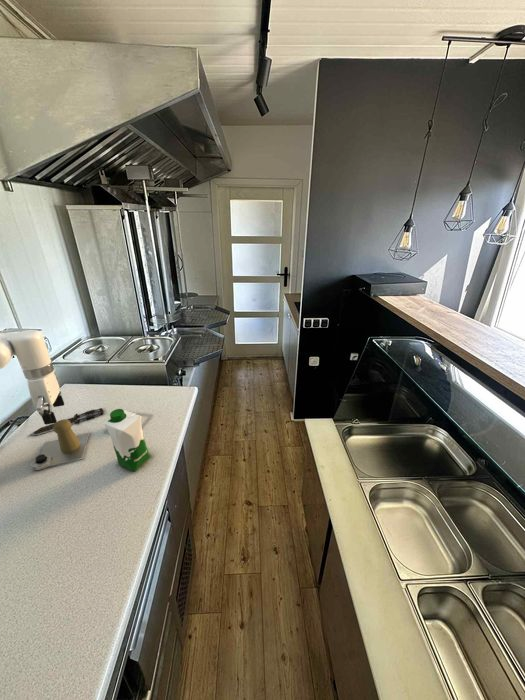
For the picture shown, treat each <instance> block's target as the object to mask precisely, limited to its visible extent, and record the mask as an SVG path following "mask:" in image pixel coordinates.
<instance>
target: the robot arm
mask: <svg viewBox="0 0 525 700" xmlns="http://www.w3.org/2000/svg"><path fill="white" fill-rule="evenodd" d="M13 356H16V359H17V361H18V363H19V365H20V368H21V371H22V373H23V375H24V378H25V380H26V382H27V388H28V391H29V395H30V399H31V401H32V404H33V407H34V408H35V409H36V411H37V412H38V414H39V416H41V419H42V421H43V423H44V425H45V426H48V425H51V424H54V423H56V422H58V420H57V418H56V415H55V412H54V411H53V410H52V409H53V408H57V407H58V408H59V407H64V406H65V401H64V398H63V396H62V392H61V388H60V384H59V382H58V379H57V376H56V374H55V371H56V370H55V367H54V364H53V361H52V359H51V355H50V353H49V349H48V347H47V344H46V341H45V338H44V336H43V333H42V332H40V331H39V330H36V329H26V330H20V331H17V332H0V370H1V369H3V368H5V367H6V366H7V365H8V364H9V362H10V361H11V359H12V357H13ZM52 406H53V407H52ZM46 407H47V409H45V408H46Z"/></svg>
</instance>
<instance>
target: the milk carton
mask: <svg viewBox="0 0 525 700" xmlns="http://www.w3.org/2000/svg"><path fill="white" fill-rule="evenodd" d="M109 418H110V419H109V420H107V421H106V422H104V427H105V428H106V431H107V432H108V435H109V436H110V440H111V443H112V446H113V449H114V452H115V455H116V460H117V462H118V465H119V466H121V467H123V468H125V469H128V470H129V471H131V472H137V470H139V468H141V467H142V466H143V465H144V464H145V463H146V462H147V461H149V459H150V458H151V455H150V453H149V449H148V447H147V444H146V440H145V435H144V431H143V427H142V415H139V414H137V413H135V412H133V411H129V410H127V409H126V410H125V409H122V408H116V409H114V410H112V411H111V412H110V413H109Z"/></svg>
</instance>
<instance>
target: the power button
mask: <svg viewBox="0 0 525 700" xmlns="http://www.w3.org/2000/svg"><path fill="white" fill-rule="evenodd" d="M34 459H35V460H36V462H37V463H38V464H39V463H42V462H44V461H45V460H46V457H45V455H44V454H41V453H40V454H39V455H37V456H36V457H35V458H34Z"/></svg>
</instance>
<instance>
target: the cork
mask: <svg viewBox="0 0 525 700" xmlns="http://www.w3.org/2000/svg"><path fill="white" fill-rule="evenodd" d="M67 419H68V418H66V419H60V420H57V422H56V423H55V424H54V423H53V424H54V426H53V430H52V431H54V433H55V434H56V435H57V440H59V445H60V450H61V452H63V453H68V452H72V451H74V450H75V449H77V448H78V447H79V445H80V442H79V440H78V438H77V437H76V436H77V435H76V433H75V432H74V431H73V429H72V424H71V422H70V421H69V420H67Z"/></svg>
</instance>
